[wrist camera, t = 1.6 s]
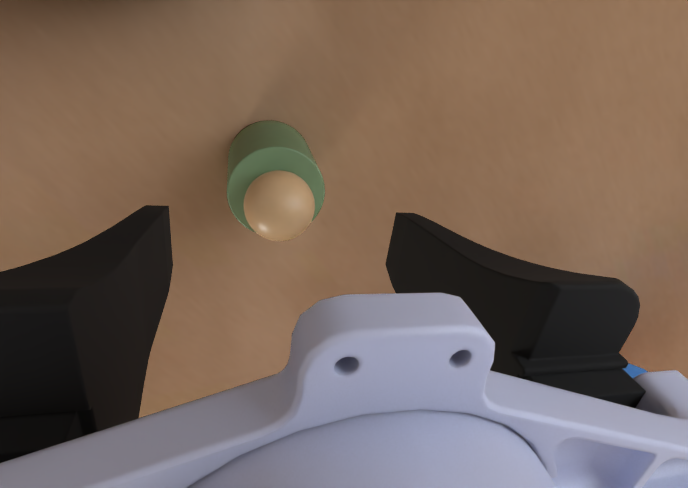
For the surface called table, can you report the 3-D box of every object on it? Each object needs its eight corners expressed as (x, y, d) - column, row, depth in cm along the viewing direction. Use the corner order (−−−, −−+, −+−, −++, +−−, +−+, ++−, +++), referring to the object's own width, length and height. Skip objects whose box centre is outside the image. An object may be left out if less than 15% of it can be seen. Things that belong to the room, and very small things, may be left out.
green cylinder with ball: (228, 196, 20) (225, 268, 15) (228, 116, 19) (225, 165, 13) (306, 199, 21) (330, 268, 16) (313, 123, 20) (343, 171, 14)
